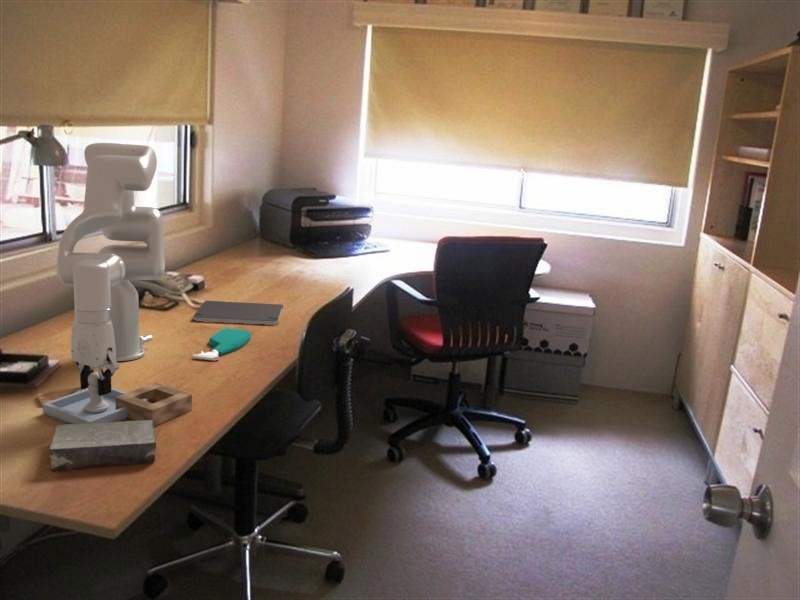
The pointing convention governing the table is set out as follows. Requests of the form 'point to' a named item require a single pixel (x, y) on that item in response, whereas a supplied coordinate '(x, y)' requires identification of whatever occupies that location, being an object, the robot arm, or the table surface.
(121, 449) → the stone block
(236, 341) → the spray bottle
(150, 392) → the square wooden frame
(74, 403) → the tray
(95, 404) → the chess piece
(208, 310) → the notebook
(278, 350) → the table surface
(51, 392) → the shard
